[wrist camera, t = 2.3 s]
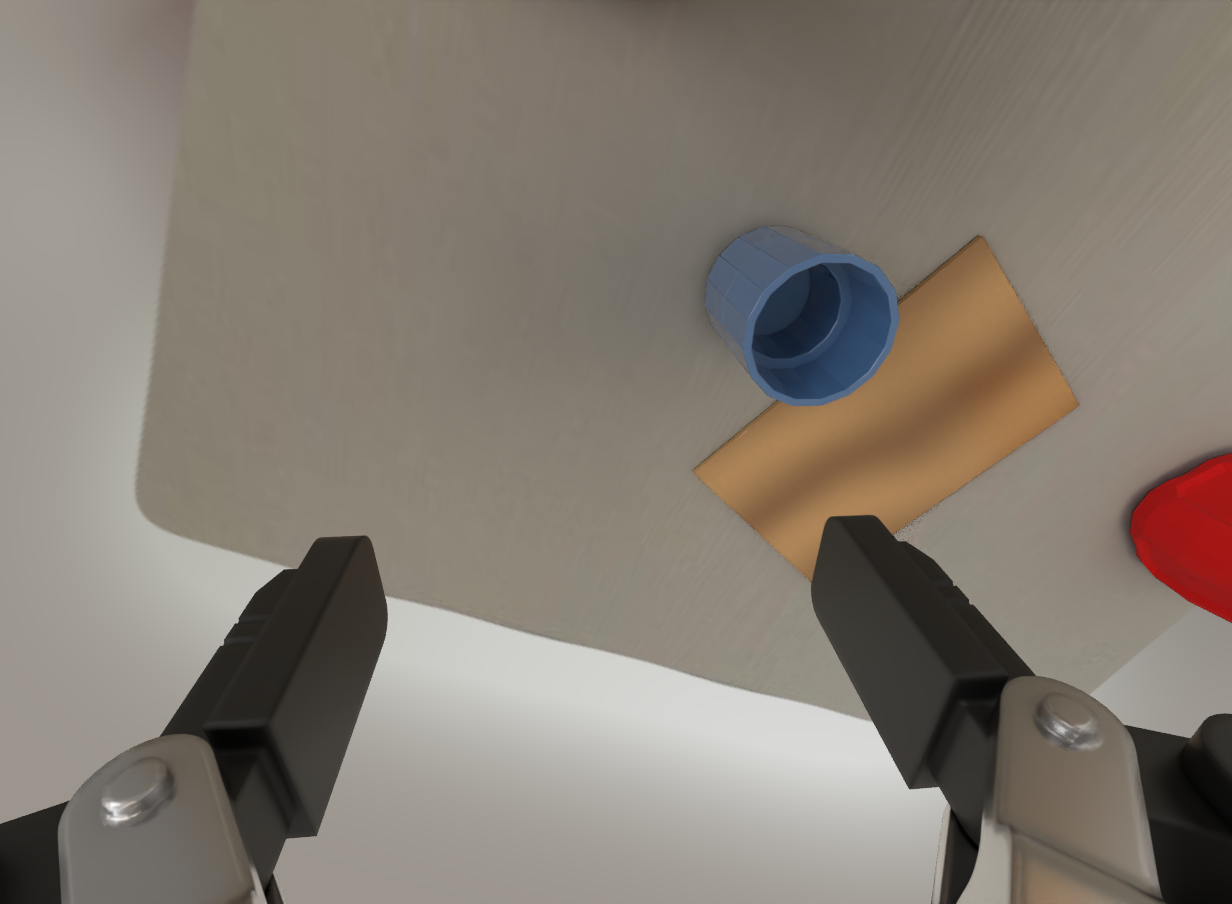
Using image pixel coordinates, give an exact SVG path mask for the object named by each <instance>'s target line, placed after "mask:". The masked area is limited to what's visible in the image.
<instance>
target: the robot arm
mask: <svg viewBox="0 0 1232 904" xmlns="http://www.w3.org/2000/svg"><path fill="white" fill-rule="evenodd" d="M811 596H812V603H813V607H814V611H815V613H816V616H817V618H818V620H819V622H820V624H821V626H822V627H823V629H824V631H825V633H826V635H827V637H828V639H829V641H830V642H831V644H832V646H833V648H834V650H835V652H836V654H837V655H838V657H839V659H840V661H841V663H842V665H843V667H844V669H845V670H846V672H847V674H848V676H849V678H850V680H851V682H852V683H853V685H854V687H855V689H856V691H857V693H858V695H859V697H860V698H861V700H862V702H863V704H864V706H865V708H866V710H867V712H868V713H869V715H870V717H871V719H872V721H873V723H874V725H875V726H876V728H877V730H878V732H879V734H880V736H881V738H882V739H883V741H884V743H885V745H886V747H887V749H888V751H889V753H890V754H891V756H892V758H893V760H894V762H895V764H896V766H897V768H898V769H899V771H900V773H901V775H902V777H903V779H904V781H905V782H906V784H907V786H908V788H909V789H920V788H932V787H939V788H940V789H941V791H942V792H943V794H944V796H945V798H946V800H947V801H948V804H947V806H946V808H945V810H944V813H943V817H942V824H941V832H940V839H939V847H938V855H937V862H936V870H935V878H934V885H933V893H932V900H931V904H1232V714H1216V715H1213V716H1210V717H1208V718H1207V719H1206V720H1205V721H1204V722H1203V723H1202V725H1201V726H1200V727H1199V728H1198V730H1197V731H1196V732H1195V733H1194V735H1193V736H1192V738H1186V737H1181V736H1176V735H1171V734H1166V733H1161V732H1156V731H1151V730H1146V729H1142V728H1137V727H1132V726H1127V725H1123V724H1122V723H1121V721H1120V720H1119V719H1118V718H1117V717H1116V716H1115V715H1114V714H1113V713H1112V712H1111V711H1110V710H1109V709H1108V708H1106V707H1105V706H1104V705H1103V704H1101V703H1100V702H1099V701H1097V700H1096V699H1094V698H1093V697H1091V696H1090V695H1088V694H1086V693H1085V692H1083V691H1081V690H1079V689H1077V688H1075V687H1073V686H1071V685H1068V684H1066V683H1064V682H1061V681H1057V680H1054V679H1051V678H1046V677H1040V676H1036V675H1035V674H1034V673H1033V672H1032V671H1031V669H1030V668H1029V667H1028V666H1027V665H1026V664H1025V663H1024V662H1023V660H1022V659H1021V658H1020V657H1019V656H1018V655H1017V654H1016V652H1015V651H1014V650H1013V649H1012V648H1011V647H1010V646H1009V645H1008V643H1007V642H1006V641H1005V640H1004V639H1003V638H1002V637H1001V635H1000V634H999V633H998V632H997V631H996V630H995V629H994V628H993V626H992V625H991V624H990V623H989V622H988V621H987V620H986V619H985V617H984V616H983V615H982V614H981V613H980V612H979V611H978V609H977V608H976V607H975V606H974V605H970V604H969V599H968V598H967V597H966V596H965V595H964V594H963V592H962V591H961V590H960V589H959V588H958V587H957V586H953V581H952V580H951V579H950V578H949V577H948V575H947V574H946V573H945V572H944V571H943V570H942V569H941V568H940V566H939V565H938V564H937V563H936V562H935V561H934V560H933V559H932V558H930V557H929V556H927V555H926V554H924V553H923V552H921V551H920V550H918V549H917V548H915V547H914V546H912V545H911V544H909V543H907V542H906V541H902V542H898V541H897V540H896V538H895V537H894V536H893V535H892V534H891V532H890V531H889V530H888V529H887V528H886V526H885V525H884V524H883V523H882V522H881V520H880V519H879V518H878V517H876V516H875V515H852V516H832V517H829V518H828V519H827V521H826V523H825V525H824V529H823V533H822V538H821V542H820V547H819V551H818V556H817V560H816V565H815V569H814V574H813V578H812V584H811ZM387 621H388V613H387V603H386V599H385V595H384V591H383V586H382V582H381V578H380V574H379V570H378V566H377V562H376V558H375V553H374V549H373V546H372V543H371V540H370V539H369V537H367V536H343V537H321V538H318V539H317V540H316V541H315V542H314V543H313V545H312V546H311V548H310V550H309V551H308V553H307V555H306V556H305V558H304V560H303V561H302V563H301V565H300V566H299V568H298V569H287V570H283V571H282V572H280V573H279V574H278V575H277V576H276V577H274V578H273V579H272V580H270V581H269V582H268V583H267V584H266V585H264V586H263V587H262V588H261V589H259V590H258V591H257V592H256V593H255V594H254V596H253V597H252V599H251V601H250V602H249V604H248V605H247V606H246V608H245V609H244V611H243V612H242V614H241V616H240V617H239V622H238V623H237V624H234V626H233V628H232V629H231V630H230V632H229V633H228V635H227V637H226V638H225V639H224V645H223V646H220V647H219V648H218V650H217V652H216V653H215V654H214V656H213V657H212V659H211V660H210V662H209V664H208V665H207V666H206V668H205V670H204V671H203V673H202V674H201V676H200V677H199V679H198V680H197V682H196V683H195V685H194V686H193V688H192V689H191V691H190V692H189V694H188V695H187V697H186V698H185V700H184V701H183V703H182V704H181V706H180V707H179V709H178V710H177V712H176V713H175V715H174V716H173V718H172V719H171V721H170V722H169V724H168V725H167V727H166V728H165V730H164V731H163V733H162V734H161V735H160V737H158V738H155V739H152V740H149V741H146V742H144V743H141V744H139V745H137V746H134V747H132V748H130V749H129V750H127V751H125V752H123V753H121V754H120V755H118V756H117V757H115V758H114V759H112V760H111V761H109V762H108V763H106V764H105V765H104V766H102V767H101V768H100V769H99V770H97V771H96V772H95V773H94V774H93V775H92V776H91V777H90V778H89V779H88V780H87V781H86V782H85V783H84V784H83V785H82V786H81V787H80V788H79V789H78V791H77V792H76V793H75V794H74V796H73V797H72V799H71V800H70V801H67V802H64V803H62V804H59V805H56V806H53V807H50V808H47V809H44V810H41V811H38V812H35V813H32V814H29V815H26V816H23V817H20V818H17V819H14V820H11V821H8V822H5V823H2V824H0V904H287V902H286V899H285V896H284V893H283V890H282V887H281V885H280V882H279V879H278V876H277V874H276V872H275V870H274V868H275V866H276V863H277V860H278V858H279V855H280V853H281V850H282V848H283V845H284V843H285V840H286V839H287V838H298V837H311V836H317V833H318V830H319V827H320V825H321V822H322V819H323V816H324V813H325V810H326V807H327V805H328V802H329V799H330V796H331V793H332V790H333V787H334V784H335V781H336V778H337V776H338V773H339V770H340V767H341V764H342V761H343V758H344V756H345V752H346V750H347V747H348V744H349V741H350V738H351V735H352V733H353V730H354V727H355V723H356V721H357V718H358V715H359V712H360V710H361V707H362V704H363V701H364V698H365V695H366V692H367V689H368V686H369V684H370V681H371V678H372V675H373V672H374V669H375V666H376V663H377V661H378V658H379V655H380V652H381V649H382V646H383V643H384V640H385V636H386V630H387Z"/></svg>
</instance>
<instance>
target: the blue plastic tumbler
mask: <svg viewBox="0 0 1232 904" xmlns="http://www.w3.org/2000/svg"><path fill="white" fill-rule="evenodd" d="M705 306H706V310H707V313H708V316H709V319H710V323H711V325H712V327H713V328H714V330H715V331H716V332H717V334H718V335H719V336H720V338H721V339H722V340H723V341H724V343H725V344H726V345H727V347H728V348H729V349H730V351H731V352H732V353H733V355H734V356H735V357H736V359H737V360H738V361H739V362H740V364H741V365H742V366H743V368H744V369H745V370H746V372H747V373H748V374H749V375H750V377H751V378H752V379H753V380H754V381H755V382H756V384H757V385H758V386H759V387H760V388H761V389H762V390H763V391H764V392H765V393H766V395H767V396H769V397H771V398H774V399H776V400H778V401H781V402H783V403H786V404H788V405H791V406H821V405H824V404H827V403H830V402H832V401H835V400H838V399H840V398H843V397H846V396H848V395H850V394H851V393H853V392H854V391H855V390H856V389H858V388H859V387H860V386H861V385H863V384H864V383H865V382H867V381H868V380H869V379H870V378H872V377H873V375H875V373H876V372H877V370H878V369H879V367H880V366H881V364H882V363H883V361H884V360H885V359H886V357H887V356H888V354H889V353H890V351H891V349H892V346H893V343H894V339H895V335H896V331H897V328H898V324H899V312H898V304H897V297H896V291H895V289H894V287H893V286H892V285H891V283H890V282H889V280H888V279H887V277H886V276H885V274H884V273H883V271H882V270H881V269H880V268H879V267H878V266H876V265H874V264H872V263H870V262H868V261H866V260H864V259H862V258H860V257H858V256H856V255H854V254H852V253H850V252H847V251H845V250H843V249H840V248H838V247H836V246H833V245H831V244H829V243H826V242H824V241H822V240H820V239H817V238H815V237H813V236H810V235H808V234H806V233H803V232H801V231H799V230H796V229H794V228H792V227H789V226H764V227H760V228H758V229H755V230H753V231H750V232H748V233H746V234H743V235H741V236H740V237H738V238H737V239H736V240H735V241H734V242H733V243H731V244H730V245H729V246H728V247H727V248H726V249H725V250H724V251H723V252H722V253H721V254H720V255H719V256H718V258H717V260H716V262H715V264H714V266H713V268H712V270H711V272H710V274H709V276H708V279H707V285H706V295H705Z"/></svg>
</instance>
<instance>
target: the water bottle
mask: <svg viewBox="0 0 1232 904" xmlns="http://www.w3.org/2000/svg"><path fill="white" fill-rule="evenodd" d="M1130 534H1131V536H1132V539H1133V541H1134V544H1135V546H1136V555H1137V557H1138V558H1139V559H1140V560H1141V562H1142V563H1143V564H1144V565H1145V566H1146V567H1147V569H1148V570H1149V571H1150V572H1151V573H1152V574H1153V575H1154V576H1155V577H1156V578H1157V579H1158V580H1160V581H1161V582H1163V583H1164V584H1166V585H1167V586H1168V587H1170V588H1171V589H1172V590H1174V591H1175V592H1176V593H1178V594H1179V595H1181V596H1182V597H1183V598H1185V599H1186V600H1187V601H1189V602H1191V603H1193V604H1195V605H1197V606H1199V607H1201V608H1203V609H1205V610H1207V611H1209V612H1211V613H1213V614H1215V615H1217V616H1219V617H1221V618H1223V619H1225V620H1227V621H1229V622H1231V623H1232V453H1230V454H1226V455H1222V456H1218V457H1215V458H1213V459H1210V460H1207V461H1206V462H1204V463H1202V464H1201V465H1199V466H1197V467H1196V468H1194V469H1192V470H1191V471H1189V472H1187V473H1186V474H1184V475H1182V476H1179V477H1176V478H1174V479H1171V480H1169V481H1167V482H1165V483H1163V484H1162V485H1160V486H1158V487H1156V488H1155V489H1153V490H1151V491H1149V492H1148V493H1147V495H1146V496H1145V497H1144V499H1143V500H1142V501H1141V502H1140V504H1139V505H1138V506H1137V507H1136V509H1135V510H1134V511H1133V514H1132V521H1131V528H1130Z"/></svg>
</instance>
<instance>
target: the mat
mask: <svg viewBox="0 0 1232 904" xmlns="http://www.w3.org/2000/svg"><path fill="white" fill-rule="evenodd" d="M897 304H898V312H899V324H898V328H897V331H896V335H895V339H894V343H893V346H892V349H891V351H890V353H889V354H888V356H887V357H886V359H885V360H884V361H883V363H882V364H881V366H880V367H879V369H878V370H877V372H876V373H875V375H873V377H872V378H870V379H869V380H868V381H867V382H865V383H864V384H863V385H861V386H860V387H859V388H858V389H856V390H855V391H854V392H853V393H851V394H850V395H848V396H846V397H843V398H840V399H838V400H835V401H832V402H830V403H827V404H824V405H821V406H791V405H788V404H786V403H783V402H781V401H777V402H775V403H774V404H773V405H772V406H771V407H769V408H768V409H767V410H766V411H764V412H763V413H762V414H761V415H760V416H758V417H757V418H756V419H755V420H753V421H752V422H751V423H750V424H749V425H747V426H746V427H745V428H744V429H743V430H741V431H740V432H739V433H738V434H736V435H735V436H734V437H733V438H732V439H730V440H729V441H728V442H727V443H726V444H724V445H723V446H722V447H721V448H719V449H718V450H717V451H716V452H715V453H713V454H712V455H711V456H710V457H709V458H707V459H706V460H705V461H704V462H702V463H701V464H700V465H699V466H698V467H696V468H695V469H694V470H693V472H694V474H695V475H696V476H697V477H698V478H699V479H700V480H701V481H702V482H704V483H705V484H706V485H707V486H708V487H709V488H710V489H711V490H712V491H713V492H714V493H715V494H717V495H718V496H719V497H720V498H721V499H722V500H723V501H724V502H725V503H726V504H727V505H728V506H730V507H731V508H732V509H733V510H734V511H735V512H736V513H737V514H738V515H739V516H740V517H741V518H743V519H744V520H745V521H746V522H747V523H748V524H749V525H750V526H751V527H752V528H753V529H754V530H756V531H757V532H758V533H759V534H760V535H761V536H762V537H763V538H764V539H765V540H766V541H767V542H769V543H770V544H771V545H772V546H773V547H774V548H775V549H776V550H777V551H778V552H779V553H780V554H782V555H783V556H784V557H785V558H786V559H787V560H788V561H789V562H790V563H791V564H792V565H793V566H795V567H796V568H797V569H798V570H799V571H800V572H801V573H802V574H803V575H804V576H805V577H806V578H808V579H809V580H810V581H811V582H812V578H813V574H814V569H815V565H816V560H817V556H818V551H819V547H820V542H821V538H822V533H823V529H824V525H825V523H826V521H827V519H828V518H829V517H832V516H852V515H875V516H876V517H878V518H879V519H880V520H881V522H882V523H883V524H884V525H885V526H886V528H887V529H888V530H889V531H890V532H891V534H894V533H895V532H897V531H898V530H900V529H901V528H902V527H904V526H905V525H907V524H908V523H910V522H911V521H913V520H914V519H915V518H917V517H918V516H920V515H921V514H923V513H924V512H926V511H927V510H929V509H930V508H931V507H933V506H934V505H936V504H937V503H939V502H940V501H942V500H943V499H944V498H946V497H947V496H949V495H950V494H952V493H953V492H955V491H956V490H957V489H959V488H960V487H962V486H963V485H965V484H966V483H968V482H969V481H970V480H972V479H973V478H975V477H976V476H978V475H979V474H981V473H982V472H984V471H985V470H986V469H988V468H989V467H991V466H992V465H994V464H995V463H997V462H998V461H999V460H1001V459H1002V458H1004V457H1005V456H1007V455H1008V454H1010V453H1011V452H1012V451H1014V450H1015V449H1017V448H1018V447H1020V446H1021V445H1023V444H1024V443H1025V442H1027V441H1028V440H1030V439H1031V438H1033V437H1034V436H1036V435H1037V434H1039V433H1040V432H1041V431H1043V430H1044V429H1046V428H1047V427H1049V426H1050V425H1052V424H1053V423H1054V422H1056V421H1057V420H1059V419H1060V418H1062V417H1063V416H1065V415H1066V414H1067V413H1069V412H1070V411H1072V410H1073V409H1075V408H1076V407H1078V406H1079V404H1078V402H1077V400H1076V398H1075V397H1074V395H1073V393H1072V391H1071V390H1070V388H1069V386H1068V384H1067V383H1066V381H1065V379H1064V377H1063V376H1062V374H1061V372H1060V370H1059V369H1058V367H1057V365H1056V363H1055V362H1054V360H1053V358H1052V356H1051V355H1050V353H1049V351H1048V349H1047V348H1046V346H1045V344H1044V342H1043V341H1042V339H1041V337H1040V335H1039V334H1038V332H1037V330H1036V328H1035V327H1034V325H1033V323H1032V321H1031V320H1030V318H1029V316H1028V314H1027V313H1026V311H1025V309H1024V307H1023V306H1022V304H1021V302H1020V300H1019V299H1018V297H1017V295H1016V293H1015V292H1014V290H1013V288H1012V286H1011V285H1010V283H1009V281H1008V279H1007V278H1006V276H1005V274H1004V272H1003V271H1002V269H1001V267H1000V265H999V264H998V262H997V260H996V258H995V257H994V255H993V253H992V251H991V250H990V248H989V246H988V244H987V243H986V241H985V239H984V237H983V236H977V237H976V238H975V239H974V240H972V241H971V242H970V243H969V244H967V245H966V246H965V247H964V248H963V249H961V250H960V251H959V252H958V253H956V254H955V255H954V256H953V257H952V258H950V259H949V260H948V261H947V262H946V263H944V264H943V265H942V266H941V267H939V268H938V269H937V270H936V271H935V272H933V273H932V274H931V275H930V276H929V277H927V278H926V279H925V280H924V281H922V282H921V283H920V284H919V285H918V286H916V287H915V288H914V289H913V290H912V291H910V292H909V293H908V294H907V295H905V296H904V297H903V298H902V299H901V300H899V301H898V302H897Z"/></svg>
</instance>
